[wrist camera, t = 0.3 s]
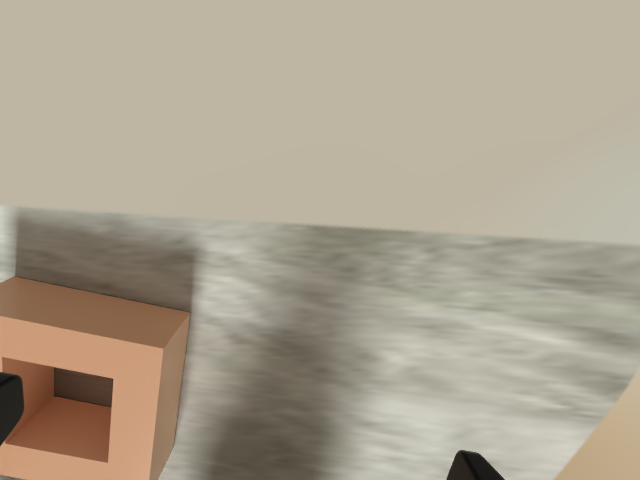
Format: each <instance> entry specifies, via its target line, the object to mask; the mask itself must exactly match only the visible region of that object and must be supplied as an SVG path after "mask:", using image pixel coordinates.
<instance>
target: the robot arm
mask: <svg viewBox="0 0 640 480" xmlns="http://www.w3.org/2000/svg"><path fill="white" fill-rule="evenodd" d="M23 412H24V392H23V381H22V378H21V377H20V376H19V375H16V374H10V373H5V372H0V446H1V445H2V444H3V442H4V441H5V440H6V438H7V437H8V436H9V434H10V433H11V432H12V430H13V429H14V428H15V426H16V425H17V423H18V422H19V421H20V419H21V417H22V415H23ZM447 480H505V479H504V478H503V477H502V476H501V475H500V474H499V473H498V472H497V471H496V470H495V469H494V468H493V467H492V466H491V465H490V464H489V463H488V462H487V461H486V460H485V458H484V457H483V456H481V455H480V454H479V453H476V452H471V451H465V450H460V451H458V452H457V454H456V456H455V458H454V461H453V463H452V466H451V469H450V471H449V474H448V476H447Z"/></svg>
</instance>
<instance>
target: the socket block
mask: <svg viewBox="0 0 640 480" xmlns="http://www.w3.org/2000/svg"><path fill="white" fill-rule="evenodd" d="M190 314H191V313H190V312H185V311H180V310H175V309H171V308H166V307H161V306H156V305H151V304H146V303H141V302H136V301H131V300H127V299H122V298H117V297H112V296H107V295H102V294H97V293H92V292H88V291H83V290H78V289H73V288H68V287H63V286H58V285H53V284H49V283H44V282H39V281H34V280H29V279H24V278H19V277H13V278H10V279H8V280H6V281H4V282H2V283H0V372H5V373H10V374H16V375H19V376H20V377H21V378H22V381H23V392H24V412H23V415H22V417H21V419H20V421H19V422H18V423H17V425H16V426H15V428H14V429H13V430H12V432H11V433H10V434H9V436H8V437H7V438H6V440H5V441H4V442H3V444H2V445H1V446H0V475H4V476H9V477H15V478H20V479H25V480H158V478H159V476H160V474H161V472H162V470H163V468H164V466H165V464H166V462H167V460H168V458H169V456H170V454H171V452H172V449H173V446H174V438H175V431H176V423H177V415H178V407H179V400H180V392H181V384H182V376H183V369H184V361H185V353H186V345H187V338H188V330H189V322H190ZM54 367H56V368H62V369H67V370H72V371H77V372H82V373H87V374H92V375H97V376H102V377H107V378H112V379H113V394H112V407H107V406H102V405H96V404H91V403H86V402H81V401H76V400H71V399H65V398H60V397H55V396H54Z"/></svg>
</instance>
